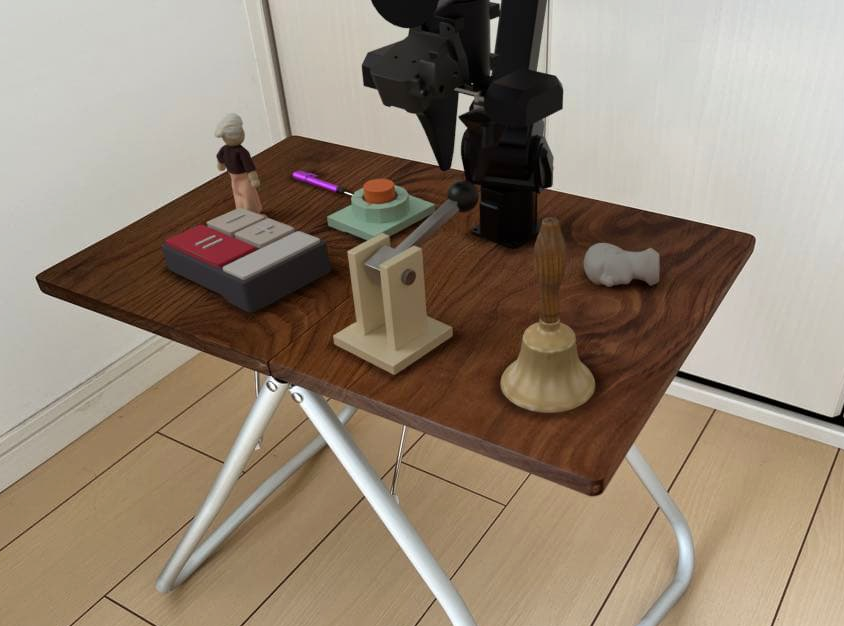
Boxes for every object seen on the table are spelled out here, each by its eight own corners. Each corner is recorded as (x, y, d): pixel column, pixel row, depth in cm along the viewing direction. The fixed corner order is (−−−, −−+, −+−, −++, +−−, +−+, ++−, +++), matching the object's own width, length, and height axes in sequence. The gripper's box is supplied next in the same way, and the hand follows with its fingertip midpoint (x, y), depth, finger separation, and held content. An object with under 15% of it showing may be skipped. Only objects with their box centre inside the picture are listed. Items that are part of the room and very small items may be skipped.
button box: (387, 196, 108) (385, 173, 106) (435, 213, 104) (434, 189, 102) (328, 225, 102) (324, 202, 100) (376, 245, 98) (373, 221, 96)
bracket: (393, 309, 87) (384, 220, 81) (453, 337, 83) (448, 245, 77) (334, 345, 83) (320, 253, 77) (394, 377, 78) (384, 282, 72)
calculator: (240, 202, 99) (326, 234, 91) (248, 237, 102) (333, 271, 93) (157, 238, 93) (241, 276, 85) (168, 274, 96) (251, 314, 87)
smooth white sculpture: (576, 293, 91) (594, 258, 93) (651, 308, 88) (667, 272, 90) (572, 263, 87) (591, 228, 90) (650, 278, 84) (667, 242, 86)
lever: (463, 195, 85) (457, 170, 82) (487, 203, 83) (481, 178, 81) (369, 284, 79) (359, 259, 77) (392, 295, 78) (383, 269, 75)
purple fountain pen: (290, 179, 113) (381, 212, 105) (291, 170, 113) (382, 202, 105) (306, 177, 115) (396, 208, 107) (306, 168, 115) (397, 199, 107)
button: (380, 189, 103) (378, 175, 102) (402, 197, 101) (400, 183, 100) (358, 200, 101) (356, 186, 100) (380, 208, 99) (378, 194, 98)
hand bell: (569, 426, 72) (578, 255, 62) (483, 396, 76) (478, 229, 66) (610, 374, 78) (625, 209, 68) (528, 348, 81) (531, 187, 71)
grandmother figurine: (284, 219, 104) (265, 114, 96) (262, 232, 101) (241, 125, 94) (237, 206, 107) (215, 103, 99) (214, 218, 105) (190, 114, 97)
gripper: (304, -1, 71) (329, 179, 81) (479, 36, 62) (483, 236, 71) (399, -28, 78) (411, 141, 88) (570, 1, 68) (563, 189, 78)
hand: (461, 174), depth 81 cm, fingers open, 4 cm apart
